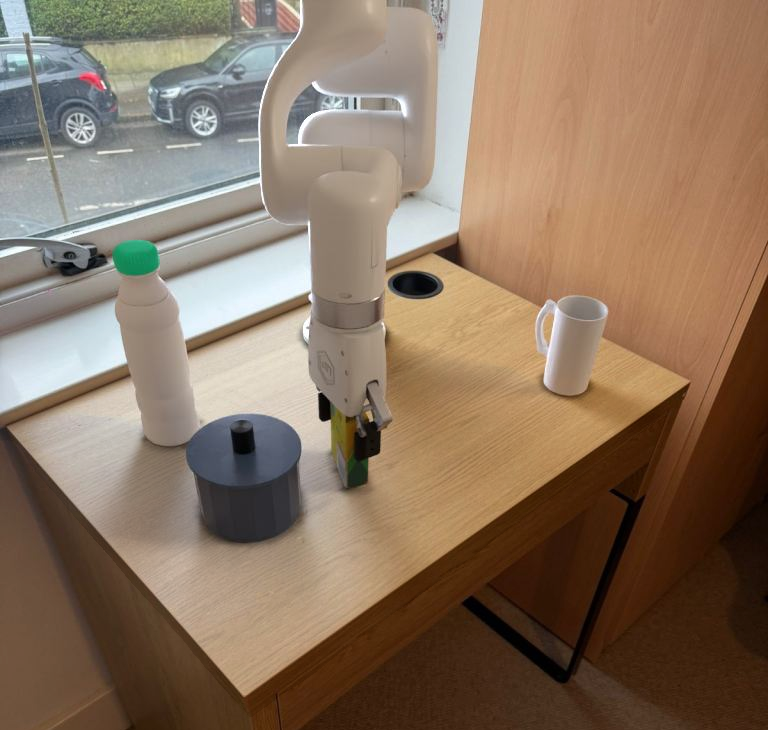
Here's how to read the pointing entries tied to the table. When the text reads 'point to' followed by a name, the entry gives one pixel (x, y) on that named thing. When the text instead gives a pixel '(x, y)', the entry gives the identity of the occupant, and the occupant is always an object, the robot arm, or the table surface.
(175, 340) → the water bottle
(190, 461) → the pot lid
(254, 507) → the pot
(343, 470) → the crayon box
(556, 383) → the mug
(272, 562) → the table surface
